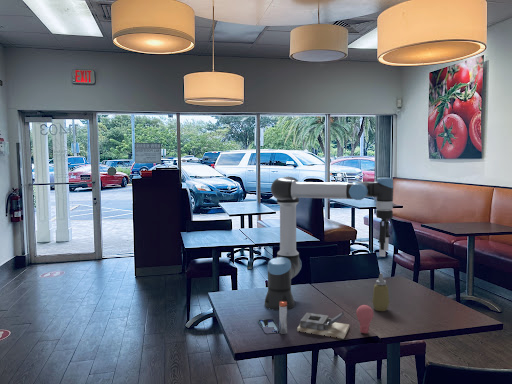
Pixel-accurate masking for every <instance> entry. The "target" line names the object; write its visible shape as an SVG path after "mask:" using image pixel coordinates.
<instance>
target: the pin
mask: <svg viewBox="0 0 512 384" xmlns="http://www.w3.org/2000/svg"><path fill="white" fill-rule="evenodd" d="M278 311H279V318H278V319H279V321H278V322H279V326H278V327H279V333H278V334H280V333H281V334H280V335H282V334H285V333H287V334H288V310H287V302H286V301H280V302H279V310H278ZM285 335H286V334H285Z"/></svg>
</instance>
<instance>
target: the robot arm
mask: <svg viewBox="0 0 512 384" xmlns="http://www.w3.org/2000/svg"><path fill="white" fill-rule="evenodd" d="M270 191H271V194H272V196H273V197H274V198H275V199H276V203H277V204H278V205H279V250H278V251H277V253H276V255H277V256H276V257H273V258H271V259H269V260H268V261H267V269H266V270H267V292H266V295H265V299H264V307H265V306H266V307H267V309H268V308H270V309H269V310H272V309H274V310H273V311H279V302H280V301H286V302H287V311H288V310H290V309H293V308H294V307H295V299H294V296H293V294H292V279H293V278H295V277H296V276H298V274H299V273H300V272H301V270H302V260H301V258H300V252H299V251H298V250H297V205H298V204H299V203H300V198H301V199H302V198H303V199H304V198H306V199H337V200H338V199H339V200H341V199H343V200H345V199H346V200H354V201H362V200H364V199H366V198H376V200H375V201H376V202H375V203H376V207H375V208H376V212H375V213H376V218H377V219H381V220H380V222H379V236H378V237H379V239H378V241H377V243H379V245H378V246H379V248H378V249H379V253H378V254H379V255H378V257H386V252H389V243H390V242H389V238H391V234H390V231H389V228H390V226H389V225H390V221H389V220H390V219H393V218H394V217H393V216H394V211H393V209H394V206H395V203H394V180H393V178H392V177H378V178H376V181H361V180H360V181H352V182H317V181H316V182H313V181H307V182H306V181H305V182H304V181H301V182H300V180H299V179H297V178H296V177H293V176H283V177H278V178H276V179H275V180H273V182H272V184H271V185H270ZM266 307H265V308H266Z"/></svg>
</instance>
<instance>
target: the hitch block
mask: <svg viewBox="0 0 512 384" xmlns="http://www.w3.org/2000/svg"><path fill="white" fill-rule="evenodd" d="M331 319H332V318H331V317H329V315H327V314H326V315H325V314H321V313H319V314H318V313H312V312H306V313H305V314H304V315H303V316H302V318H301V319H300V321H299V325H298V326H297V328H296V330H297V331H296V332H299V331H300V332H301V333H305V332H306V333H305V334H311V333H312V334H311V335H313V334H314V335H320V336H324V335H325V336H326V337H330V336H331V338H336V337H337V338H336V339H342V340H343V339H345V338H346V335H347V333H348V331H350V330H349V329H350V324H348V323H341V322H337V321H336V322H334V323H333V324H331V325H330V326H329V327H328V324H327V322H328V321H329V320H331Z"/></svg>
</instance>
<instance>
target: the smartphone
mask: <svg viewBox="0 0 512 384" xmlns="http://www.w3.org/2000/svg"><path fill="white" fill-rule="evenodd" d="M258 322H259V323H258ZM257 323H258V324H260V325H261V326H260V325H259V326H260V328H261V327H265V326H266V325H268V326H267V327H274V329H275V330H273V331H274V332H277V331H278V332H279V328H278V327H279V326H278V324H277V323H276V321H275V319H274V318H272V317H271V318H263V319H258V320H257ZM277 329H278V330H277ZM273 331H272V332H273ZM278 332H277V333H276V334H279V333H278Z"/></svg>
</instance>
